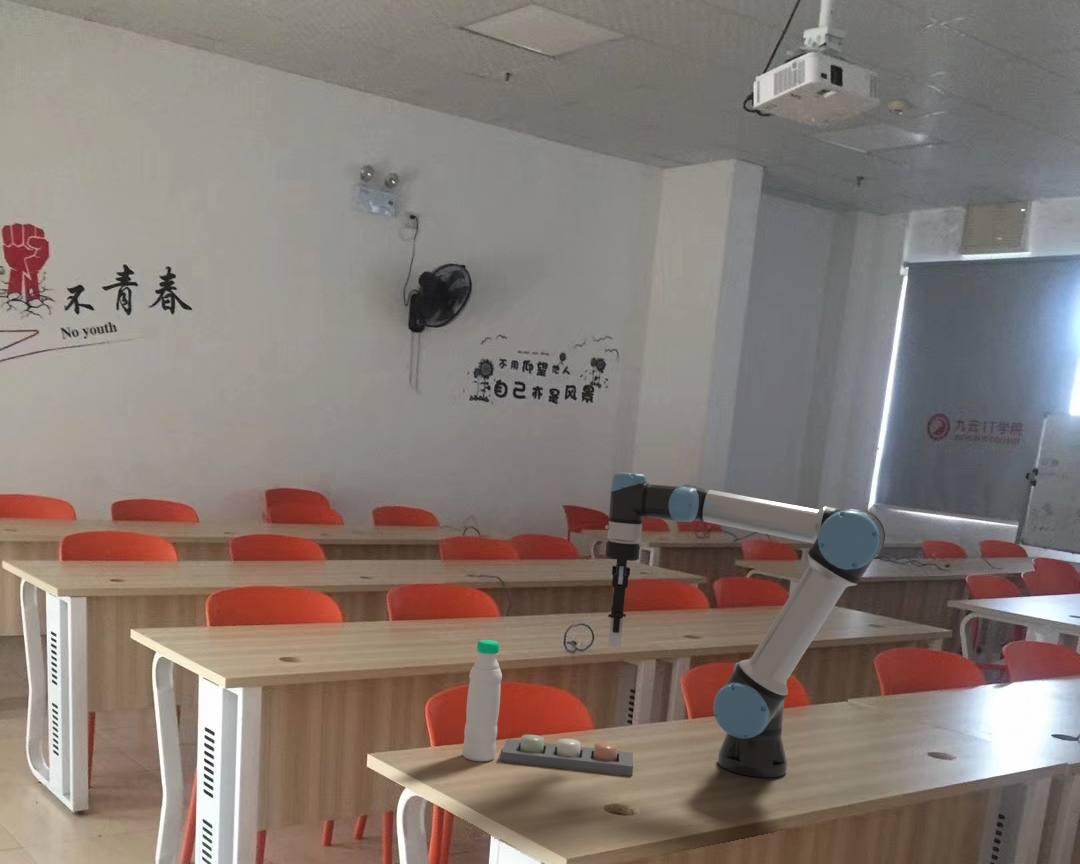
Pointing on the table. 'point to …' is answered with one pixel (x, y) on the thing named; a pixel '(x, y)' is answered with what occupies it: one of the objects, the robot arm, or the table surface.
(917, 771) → the table surface
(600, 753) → the button terracotta
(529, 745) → the button sage
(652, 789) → the table surface
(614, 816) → the table surface
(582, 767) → the panel
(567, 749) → the button ivory
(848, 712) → the table surface
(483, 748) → the water bottle
